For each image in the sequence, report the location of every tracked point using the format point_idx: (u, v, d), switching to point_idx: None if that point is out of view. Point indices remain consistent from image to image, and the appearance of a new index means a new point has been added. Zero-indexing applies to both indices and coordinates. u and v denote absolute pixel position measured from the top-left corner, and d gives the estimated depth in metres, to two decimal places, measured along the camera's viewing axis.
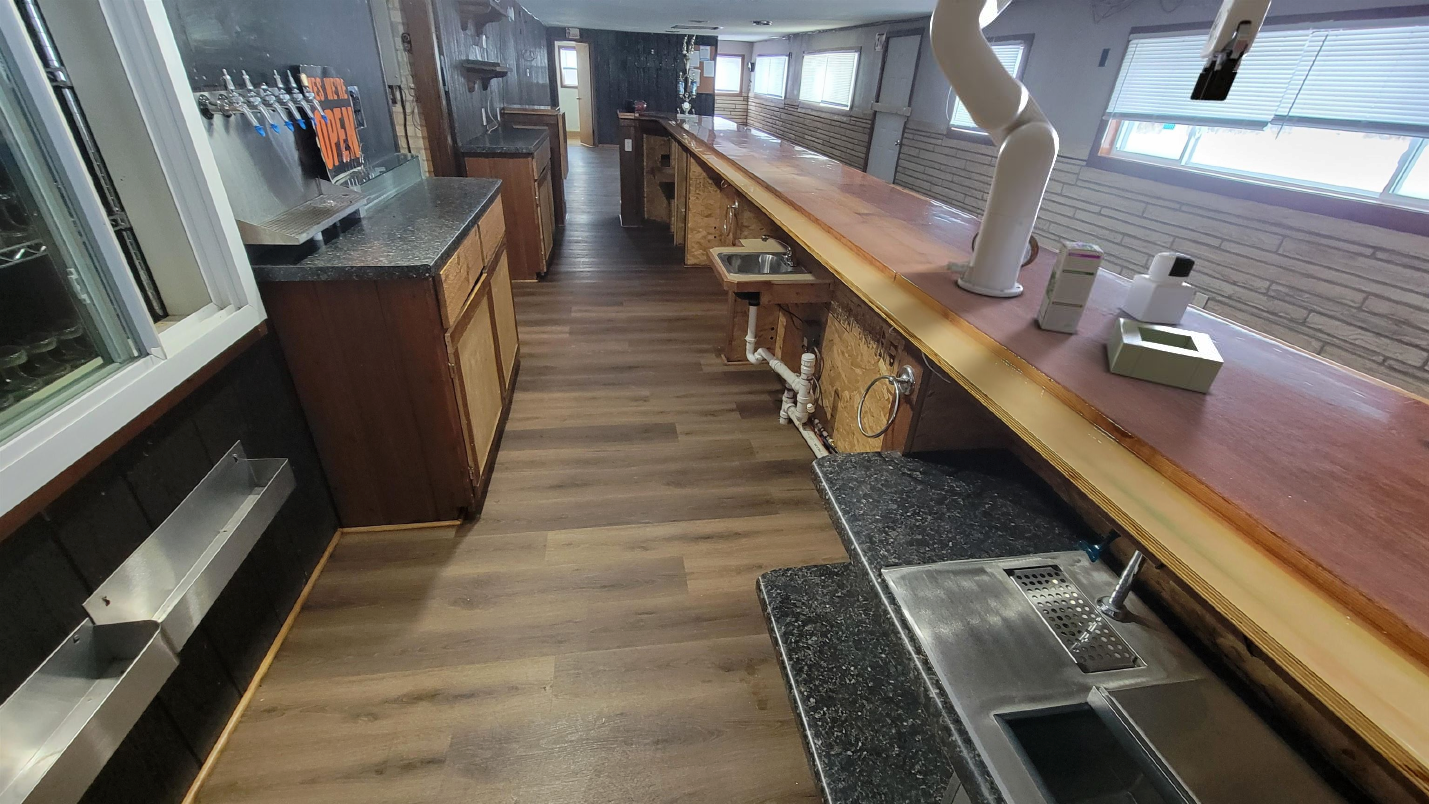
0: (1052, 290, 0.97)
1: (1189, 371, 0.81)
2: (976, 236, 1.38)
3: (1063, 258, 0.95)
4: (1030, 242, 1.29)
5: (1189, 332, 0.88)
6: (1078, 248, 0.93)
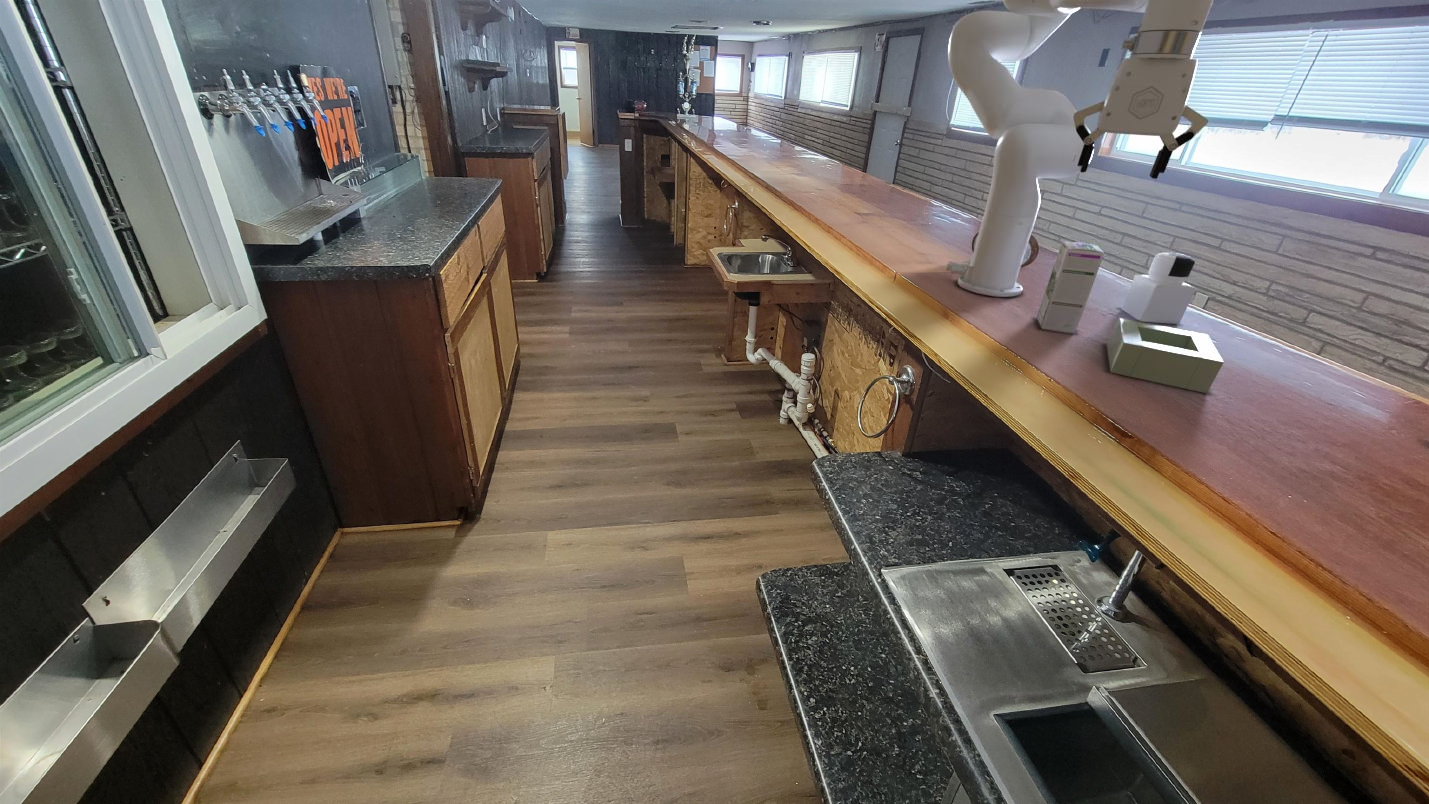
0: (1052, 290, 0.97)
1: (1189, 371, 0.81)
2: (976, 236, 1.38)
3: (1063, 258, 0.95)
4: (1030, 242, 1.29)
5: (1189, 332, 0.88)
6: (1078, 248, 0.93)
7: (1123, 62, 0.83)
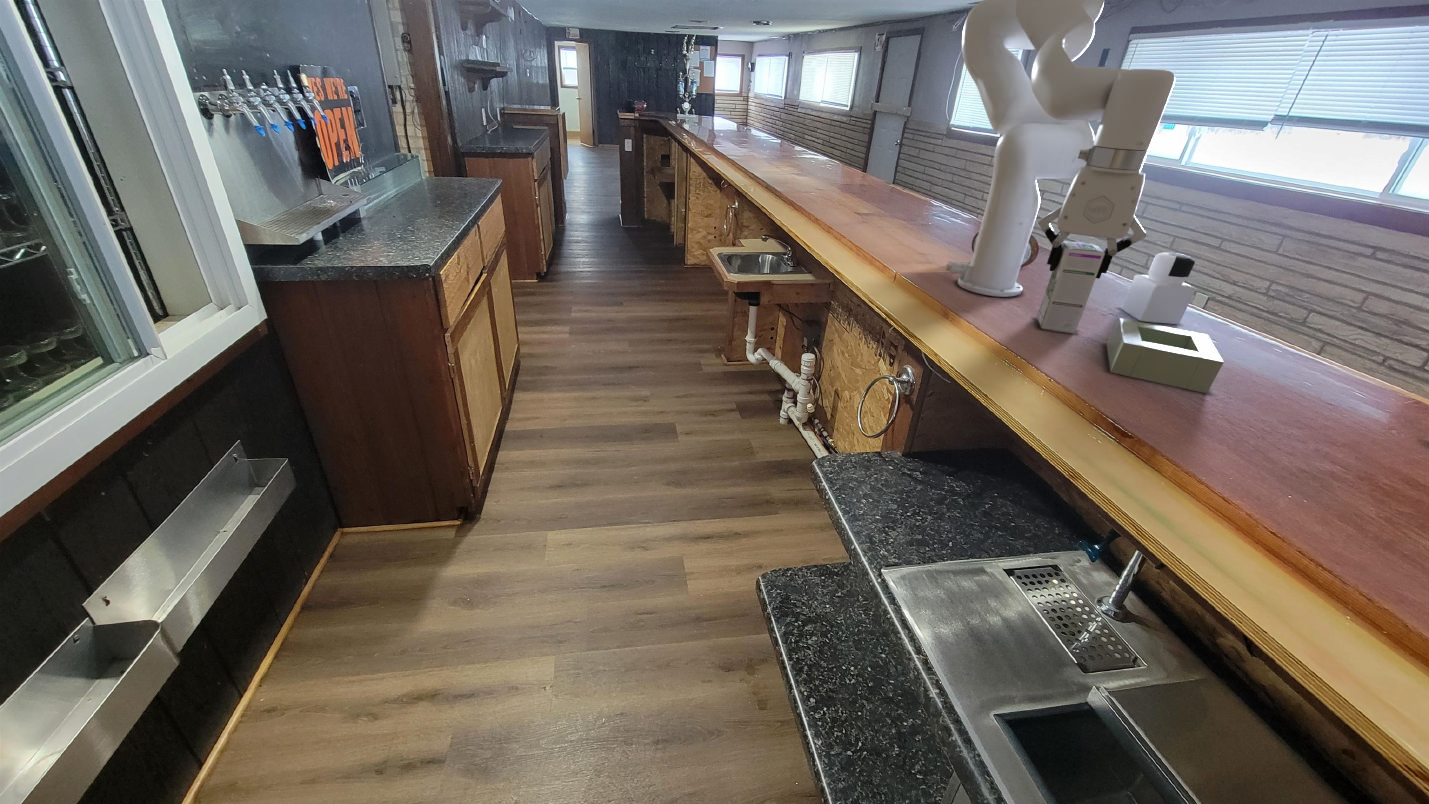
0: (1052, 290, 0.97)
1: (1189, 371, 0.81)
2: (976, 236, 1.38)
3: (1063, 258, 0.95)
4: (1030, 242, 1.29)
5: (1189, 332, 0.88)
6: (1079, 248, 0.93)
7: (1079, 171, 0.90)
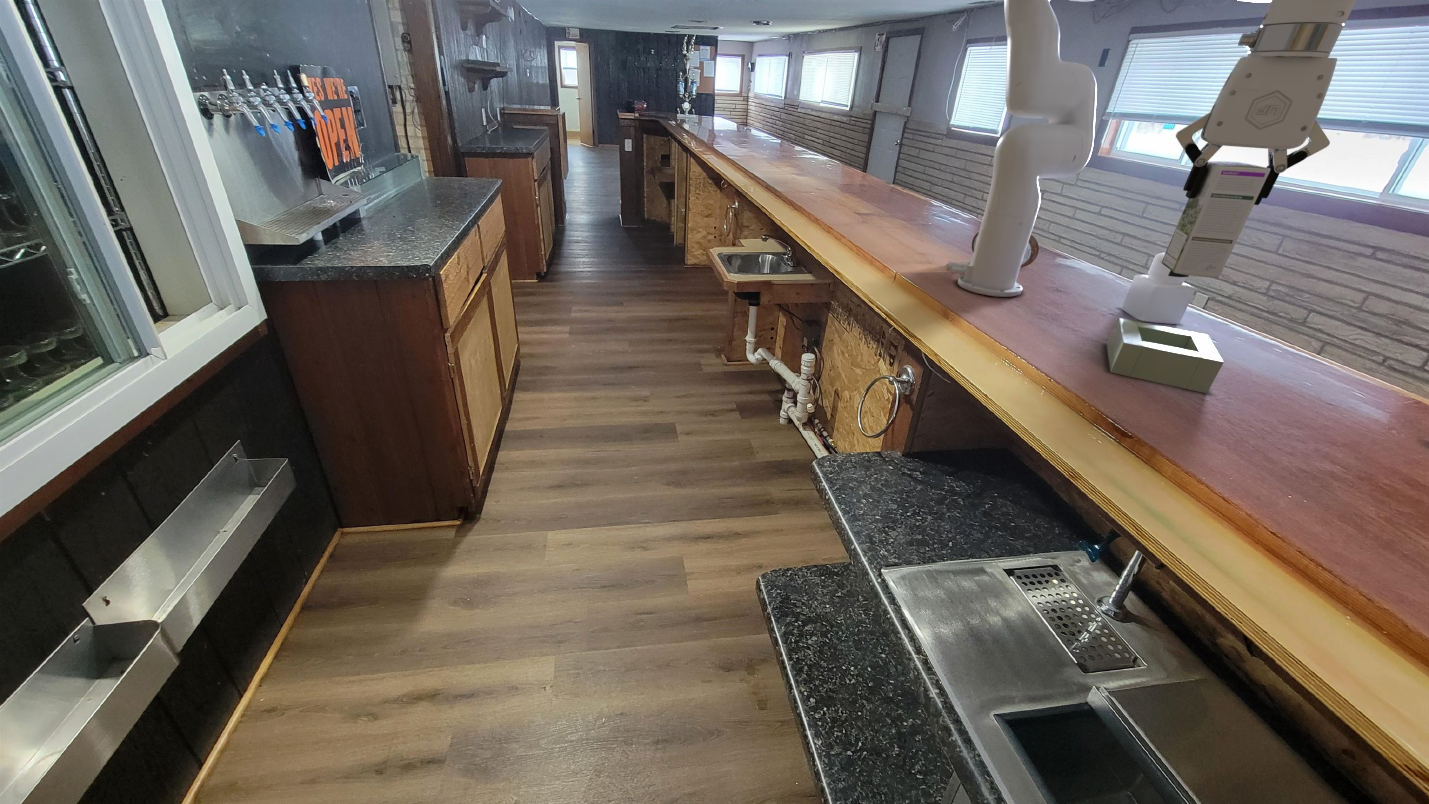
0: (1193, 222, 0.77)
1: (1189, 371, 0.81)
2: (976, 236, 1.38)
3: (1212, 179, 0.74)
4: (1030, 242, 1.29)
5: (1189, 332, 0.88)
6: (1234, 164, 0.73)
7: (1241, 61, 0.69)
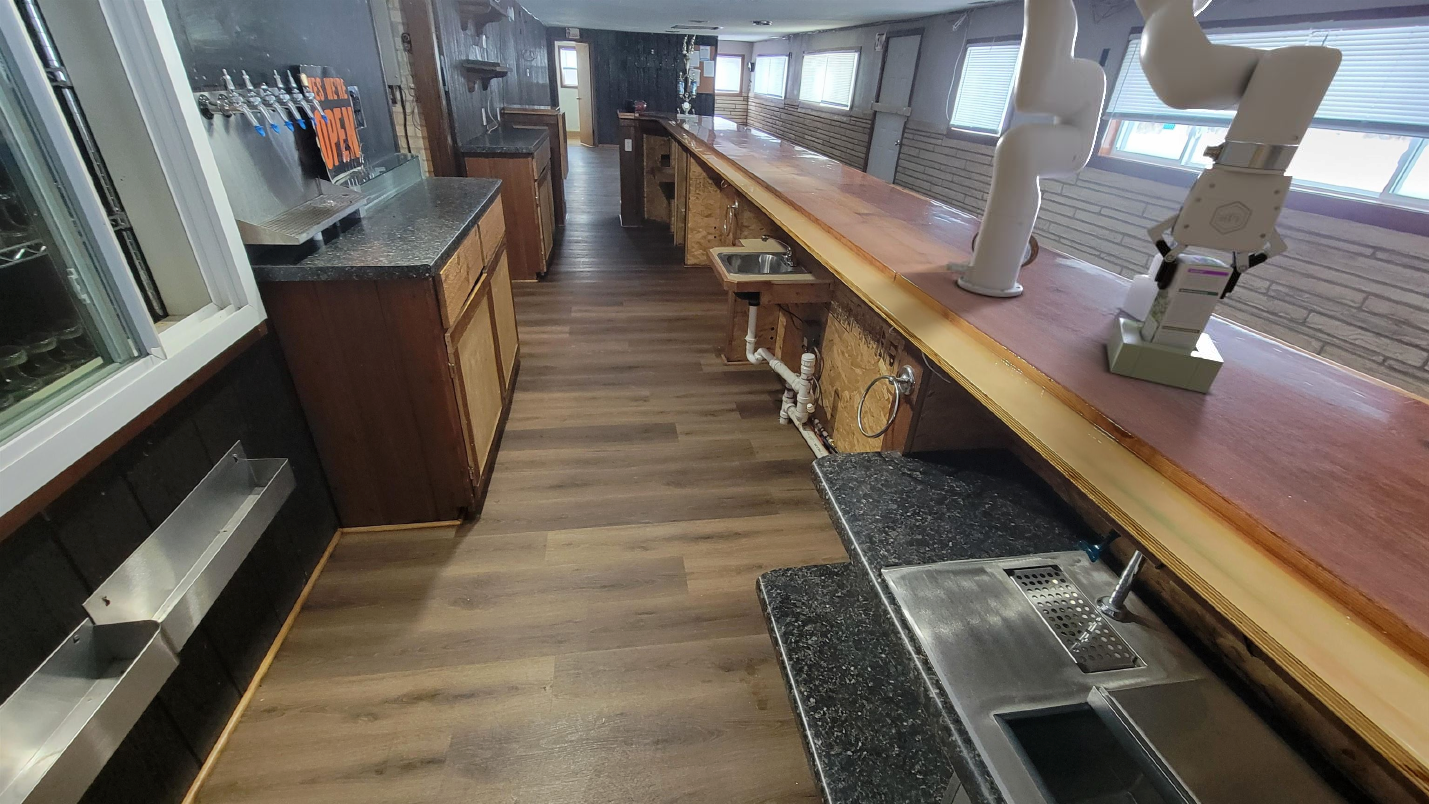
0: (1163, 312, 0.82)
1: (1189, 371, 0.81)
2: (976, 236, 1.38)
3: (1180, 275, 0.79)
4: (1030, 242, 1.29)
5: None
6: (1200, 263, 0.78)
7: (1206, 172, 0.74)
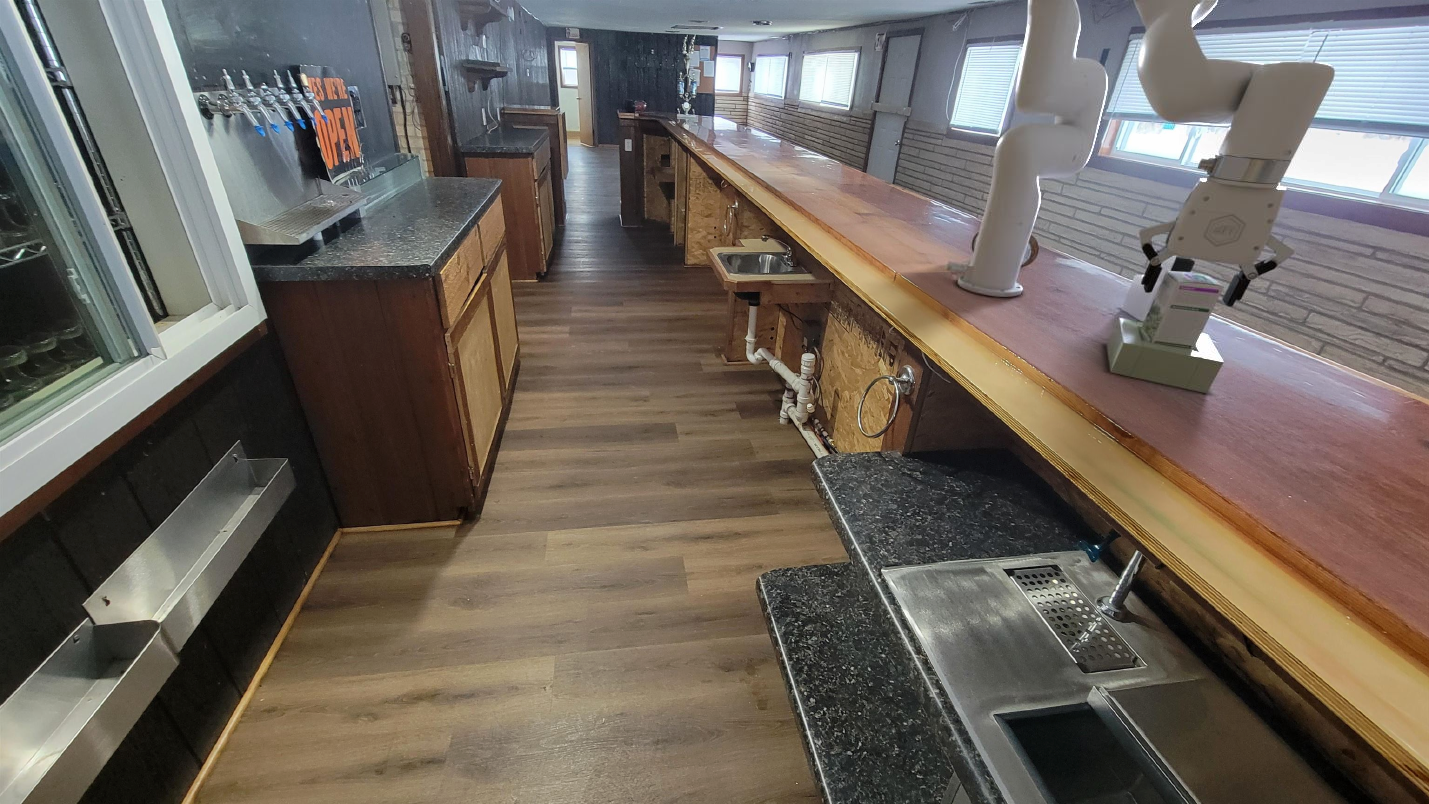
0: (1155, 328, 0.83)
1: (1189, 371, 0.81)
2: (976, 236, 1.38)
3: (1172, 291, 0.81)
4: (1030, 242, 1.29)
5: None
6: (1191, 280, 0.79)
7: (1200, 184, 0.75)
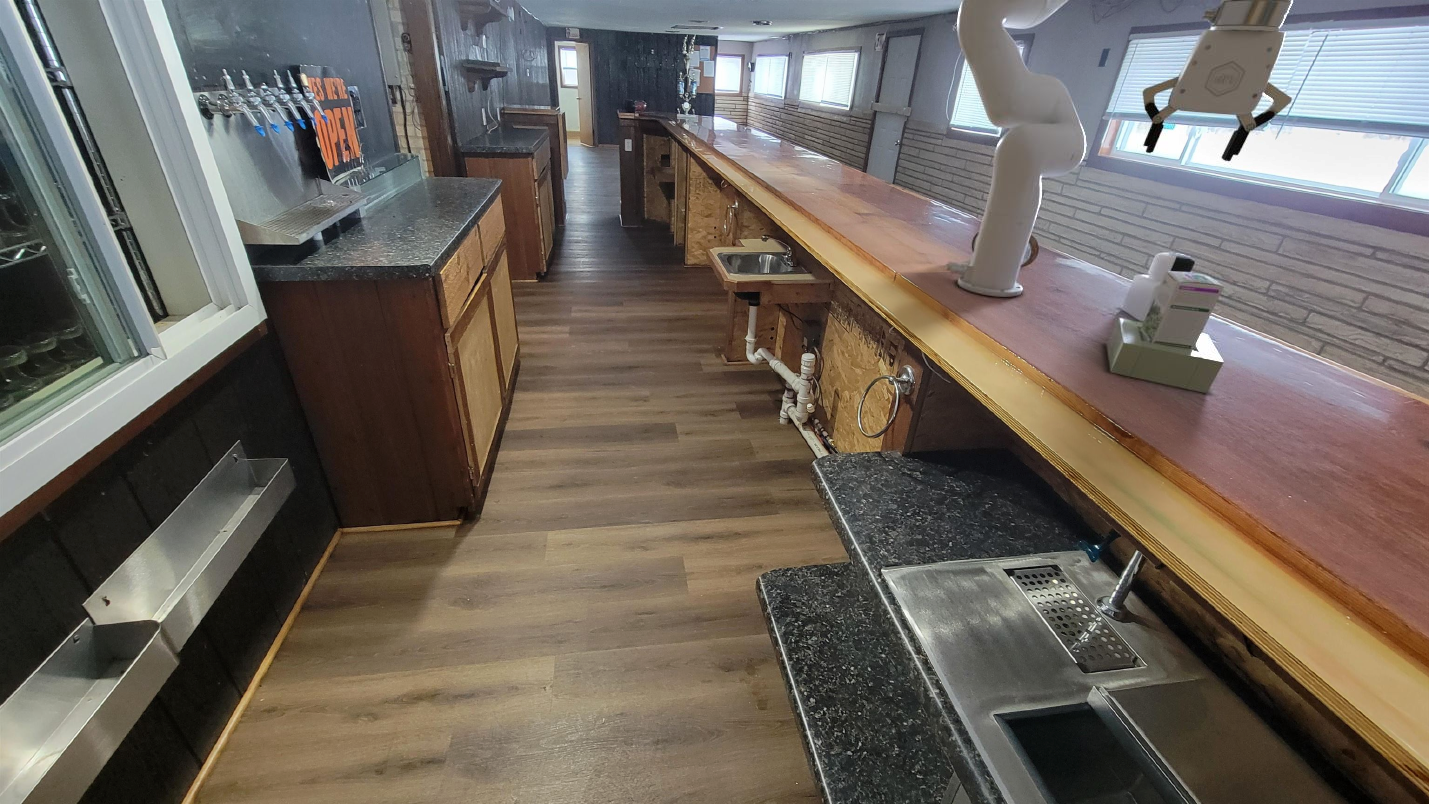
0: (1155, 328, 0.83)
1: (1189, 371, 0.81)
2: (976, 236, 1.38)
3: (1172, 291, 0.81)
4: (1030, 242, 1.29)
5: None
6: (1191, 280, 0.79)
7: (1203, 34, 0.78)
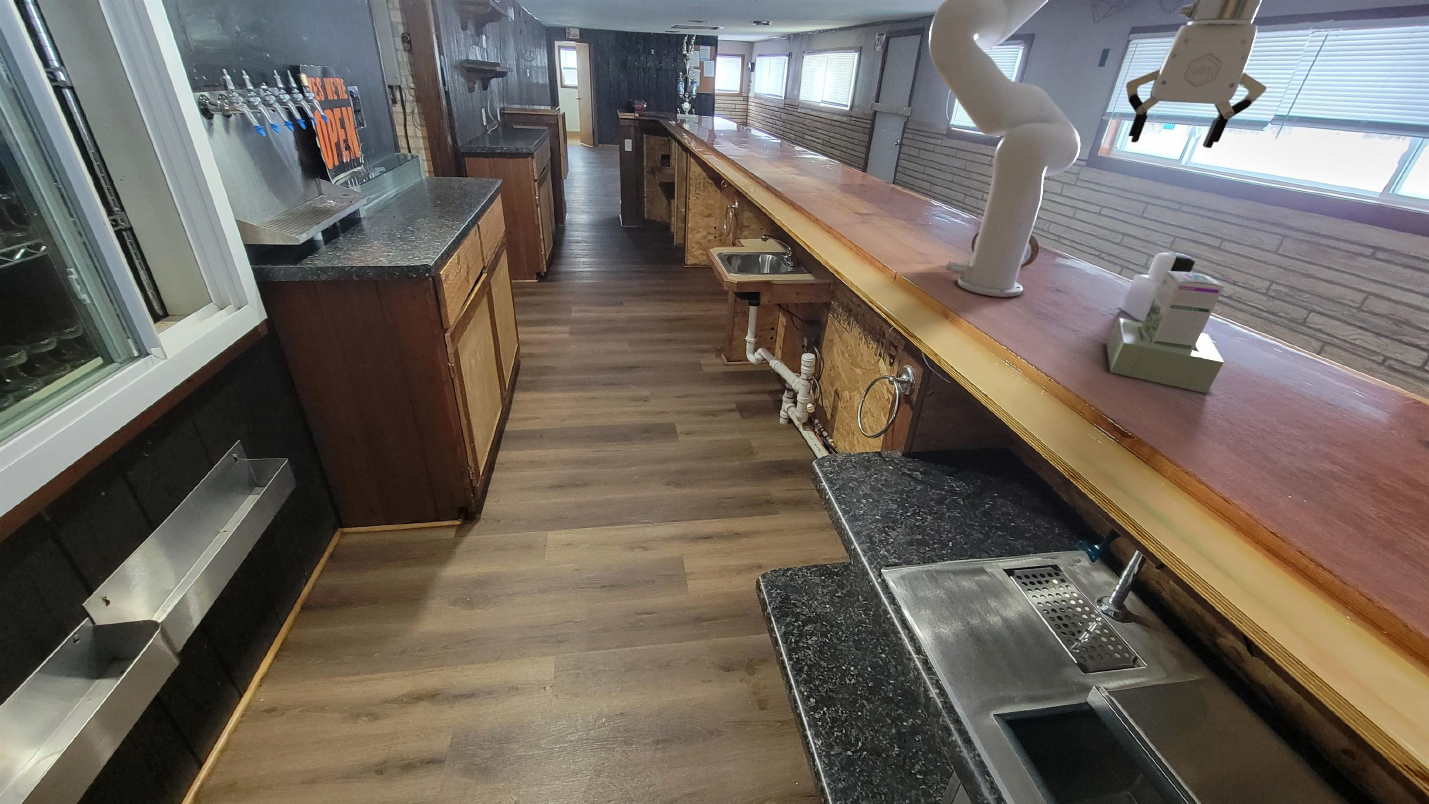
0: (1155, 328, 0.83)
1: (1189, 371, 0.81)
2: (976, 236, 1.38)
3: (1172, 291, 0.81)
4: (1030, 242, 1.29)
5: None
6: (1191, 280, 0.79)
7: (1181, 29, 0.83)
